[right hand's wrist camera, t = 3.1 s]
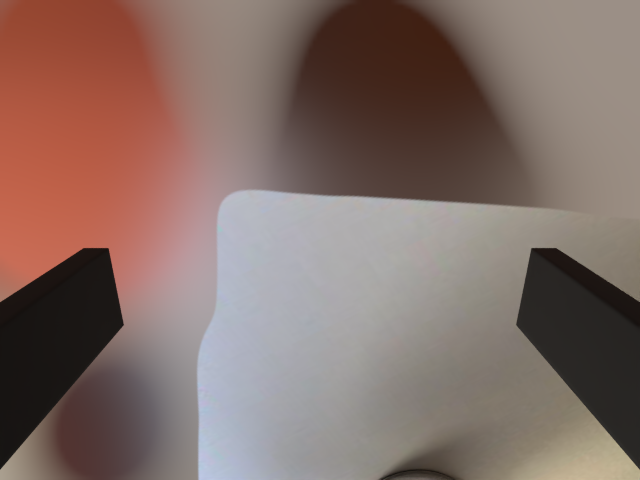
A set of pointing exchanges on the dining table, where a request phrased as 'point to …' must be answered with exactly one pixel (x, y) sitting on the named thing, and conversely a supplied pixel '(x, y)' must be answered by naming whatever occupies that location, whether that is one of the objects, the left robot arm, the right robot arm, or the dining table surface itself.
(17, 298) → the right robot arm
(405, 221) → the dining table surface
